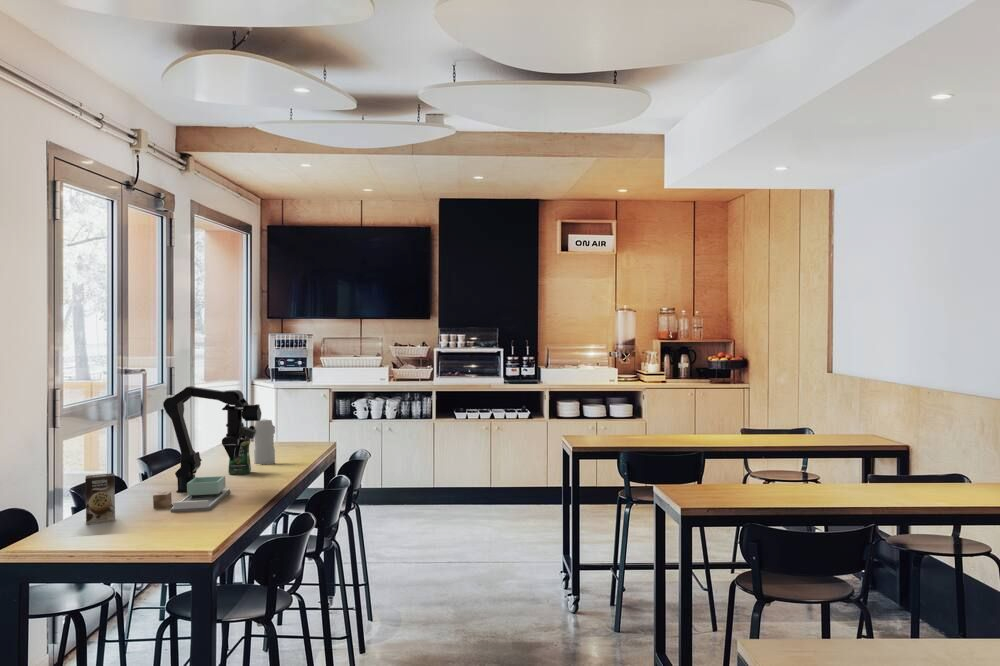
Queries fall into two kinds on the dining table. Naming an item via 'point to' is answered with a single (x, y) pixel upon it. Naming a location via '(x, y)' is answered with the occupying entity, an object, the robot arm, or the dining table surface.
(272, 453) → the tall pale column
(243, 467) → the coffee jar
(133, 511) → the dining table surface
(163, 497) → the block
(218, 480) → the sage green storage bin
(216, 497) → the rail board
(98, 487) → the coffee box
